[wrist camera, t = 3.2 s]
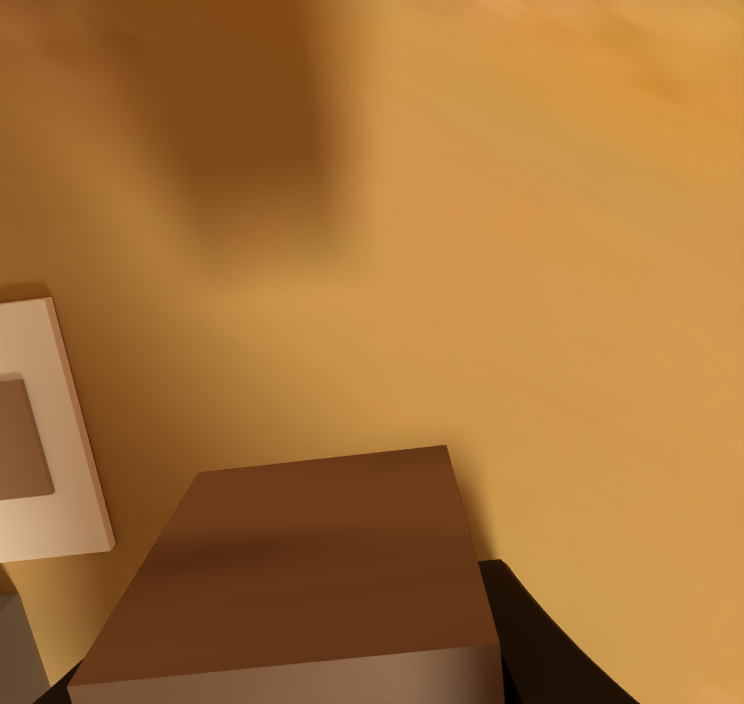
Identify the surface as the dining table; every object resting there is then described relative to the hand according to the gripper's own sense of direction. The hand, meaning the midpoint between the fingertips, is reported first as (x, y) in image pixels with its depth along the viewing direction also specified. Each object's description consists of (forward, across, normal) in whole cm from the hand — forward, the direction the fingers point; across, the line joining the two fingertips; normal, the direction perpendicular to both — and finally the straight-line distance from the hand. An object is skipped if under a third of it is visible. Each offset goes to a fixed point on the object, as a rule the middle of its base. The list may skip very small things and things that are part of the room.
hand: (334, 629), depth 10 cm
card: (+9, +11, -1) cm, 14 cm away
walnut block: (+2, 0, 0) cm, 2 cm away
